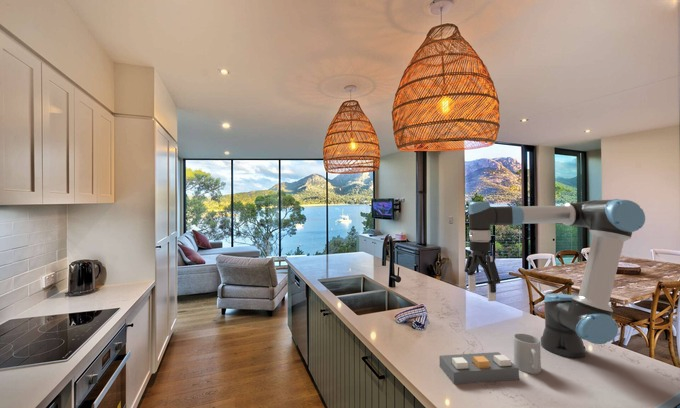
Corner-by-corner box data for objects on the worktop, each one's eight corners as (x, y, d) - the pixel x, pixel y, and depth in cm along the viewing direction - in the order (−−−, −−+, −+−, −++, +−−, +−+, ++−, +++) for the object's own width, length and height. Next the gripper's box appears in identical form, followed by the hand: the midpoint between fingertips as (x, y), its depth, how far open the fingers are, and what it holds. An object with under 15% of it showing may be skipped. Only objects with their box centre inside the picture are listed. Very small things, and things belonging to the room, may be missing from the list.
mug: (510, 360, 111) (509, 332, 111) (534, 362, 109) (533, 334, 109) (523, 378, 99) (523, 347, 99) (550, 381, 97) (550, 349, 97)
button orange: (483, 364, 102) (483, 355, 102) (489, 370, 99) (489, 361, 99) (473, 365, 102) (472, 356, 102) (478, 371, 98) (478, 361, 98)
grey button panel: (498, 362, 109) (498, 346, 109) (519, 379, 98) (518, 361, 98) (439, 366, 107) (439, 349, 107) (453, 384, 96) (453, 365, 96)
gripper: (455, 238, 122) (456, 287, 121) (490, 244, 98) (492, 306, 97) (471, 237, 123) (472, 286, 122) (510, 244, 98) (512, 305, 98)
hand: (481, 295), depth 110 cm, fingers open, 12 cm apart
